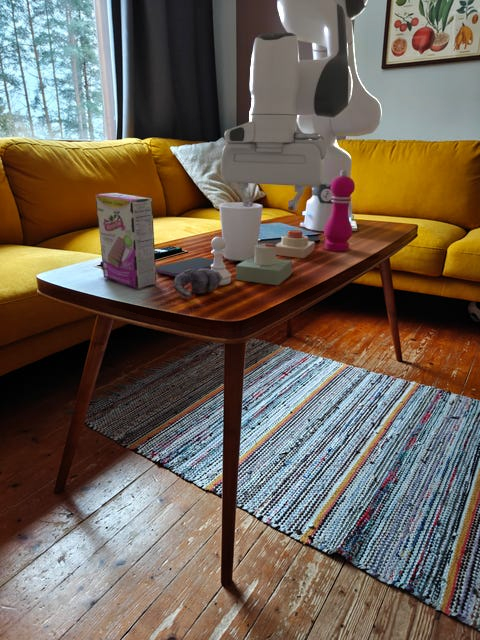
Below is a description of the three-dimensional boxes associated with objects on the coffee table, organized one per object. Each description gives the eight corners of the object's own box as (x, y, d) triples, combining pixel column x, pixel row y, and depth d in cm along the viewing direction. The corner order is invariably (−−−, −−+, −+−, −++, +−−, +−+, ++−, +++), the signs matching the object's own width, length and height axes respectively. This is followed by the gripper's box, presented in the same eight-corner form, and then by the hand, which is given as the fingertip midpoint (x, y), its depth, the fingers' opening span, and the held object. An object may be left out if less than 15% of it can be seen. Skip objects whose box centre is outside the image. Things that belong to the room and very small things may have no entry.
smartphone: (223, 261, 101) (176, 273, 90) (223, 266, 102) (176, 278, 90) (199, 256, 105) (151, 267, 94) (199, 261, 106) (151, 272, 94)
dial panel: (252, 269, 99) (252, 255, 98) (291, 274, 95) (292, 259, 94) (235, 279, 91) (236, 264, 90) (278, 285, 88) (278, 270, 87)
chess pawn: (207, 286, 87) (207, 239, 83) (204, 278, 91) (203, 234, 88) (233, 285, 88) (233, 239, 84) (228, 277, 92) (228, 234, 89)
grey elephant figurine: (179, 306, 79) (220, 295, 86) (191, 287, 76) (233, 278, 82) (164, 283, 81) (205, 274, 88) (175, 264, 77) (217, 256, 84)
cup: (227, 267, 100) (228, 208, 95) (213, 257, 108) (213, 203, 104) (268, 263, 103) (270, 207, 99) (251, 254, 112) (252, 201, 107)
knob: (250, 263, 91) (251, 245, 90) (259, 259, 95) (259, 241, 93) (271, 266, 89) (272, 247, 88) (278, 261, 93) (279, 243, 92)
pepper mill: (348, 246, 122) (357, 169, 115) (352, 252, 115) (361, 170, 108) (321, 245, 123) (328, 168, 115) (323, 251, 116) (330, 170, 109)
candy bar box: (101, 278, 90) (93, 194, 84) (122, 273, 94) (116, 192, 88) (137, 290, 83) (131, 199, 77) (158, 284, 87) (153, 197, 81)
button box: (285, 246, 120) (285, 232, 119) (314, 250, 117) (315, 234, 116) (272, 254, 112) (273, 238, 110) (303, 258, 109) (305, 241, 107)
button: (290, 236, 115) (290, 229, 115) (303, 237, 114) (304, 230, 114) (285, 238, 112) (286, 231, 112) (299, 240, 111) (300, 233, 110)
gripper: (331, 133, 83) (325, 209, 88) (230, 132, 90) (230, 202, 95) (323, 133, 77) (317, 214, 83) (216, 132, 85) (217, 206, 90)
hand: (270, 208), depth 89 cm, fingers open, 8 cm apart
